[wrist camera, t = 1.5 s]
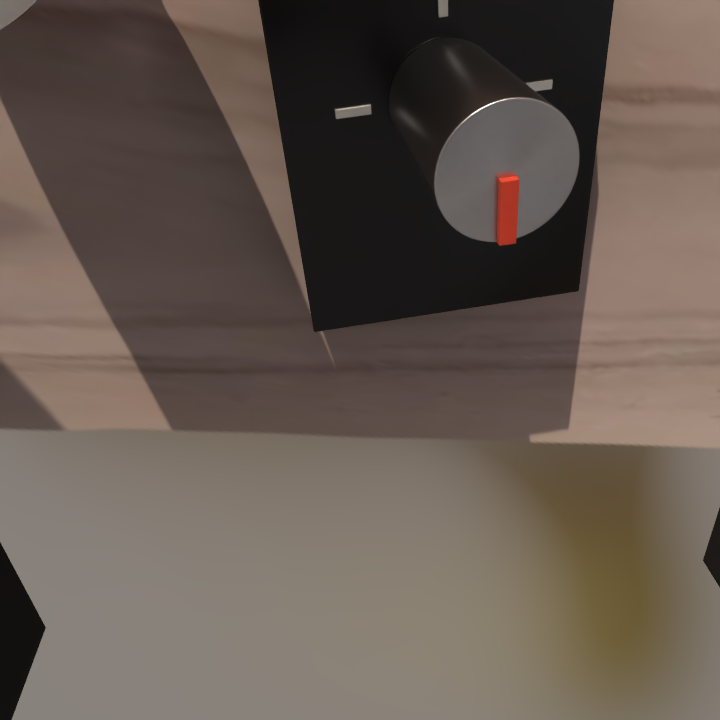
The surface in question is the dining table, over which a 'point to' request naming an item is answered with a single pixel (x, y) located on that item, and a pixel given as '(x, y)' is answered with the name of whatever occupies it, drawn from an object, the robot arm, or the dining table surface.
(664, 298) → the dining table surface
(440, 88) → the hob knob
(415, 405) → the dining table surface
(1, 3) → the jar
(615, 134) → the dining table surface
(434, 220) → the hob
